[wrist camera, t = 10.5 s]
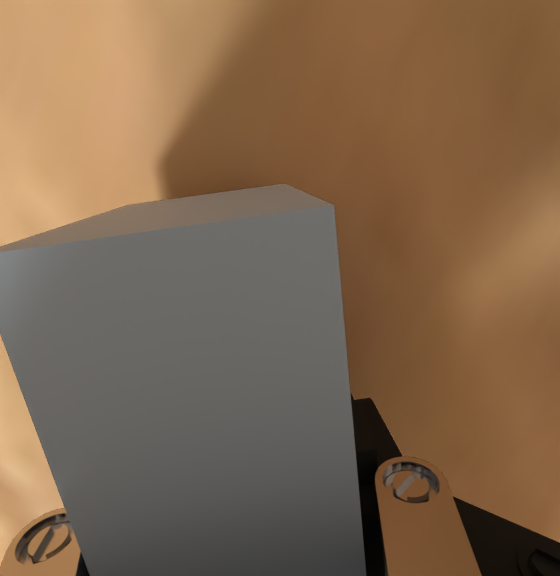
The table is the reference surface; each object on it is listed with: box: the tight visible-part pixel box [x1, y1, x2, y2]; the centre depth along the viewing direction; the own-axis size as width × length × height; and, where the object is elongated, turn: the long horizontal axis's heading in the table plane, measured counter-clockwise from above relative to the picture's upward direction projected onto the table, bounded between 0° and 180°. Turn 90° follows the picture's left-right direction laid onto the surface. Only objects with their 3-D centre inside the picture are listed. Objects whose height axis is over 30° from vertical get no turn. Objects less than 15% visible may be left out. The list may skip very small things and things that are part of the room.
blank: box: [0, 183, 366, 576], centre depth 9 cm, size 13×4×6 cm, turn 7°
